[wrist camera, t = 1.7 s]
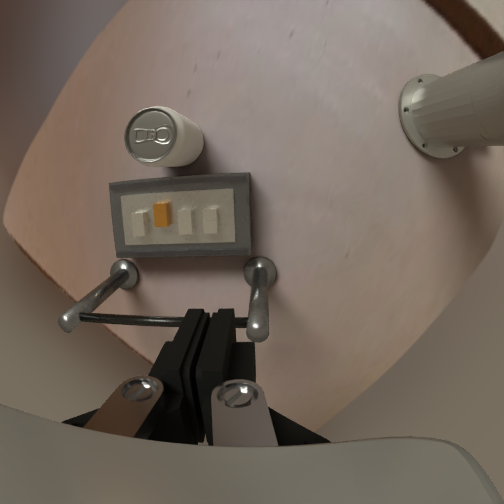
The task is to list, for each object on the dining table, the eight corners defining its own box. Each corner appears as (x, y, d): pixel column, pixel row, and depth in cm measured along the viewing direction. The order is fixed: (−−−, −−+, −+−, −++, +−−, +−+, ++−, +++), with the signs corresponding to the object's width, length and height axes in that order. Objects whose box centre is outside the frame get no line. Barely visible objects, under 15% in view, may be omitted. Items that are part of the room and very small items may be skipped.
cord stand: (276, 256, 43) (282, 310, 27) (276, 286, 45) (282, 353, 28) (110, 259, 44) (45, 303, 28) (115, 286, 46) (55, 340, 29)
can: (203, 166, 41) (180, 166, 29) (157, 167, 41) (119, 168, 29) (205, 118, 39) (182, 100, 27) (158, 120, 39) (121, 106, 28)
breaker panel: (249, 172, 41) (247, 173, 35) (252, 247, 43) (250, 259, 38) (121, 181, 41) (102, 184, 36) (128, 250, 44) (111, 261, 38)
